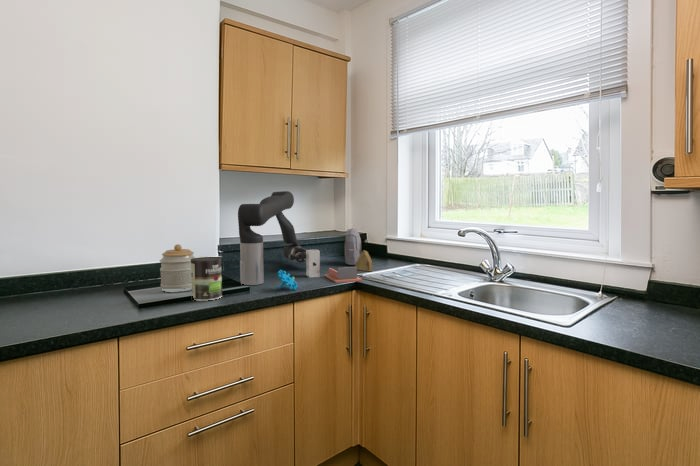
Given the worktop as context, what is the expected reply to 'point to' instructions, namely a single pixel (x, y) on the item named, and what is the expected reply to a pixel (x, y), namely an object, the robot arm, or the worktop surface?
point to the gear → (287, 280)
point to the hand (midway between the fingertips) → (307, 258)
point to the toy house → (364, 262)
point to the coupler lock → (313, 263)
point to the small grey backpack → (352, 246)
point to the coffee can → (206, 278)
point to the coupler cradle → (343, 275)
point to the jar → (176, 268)
